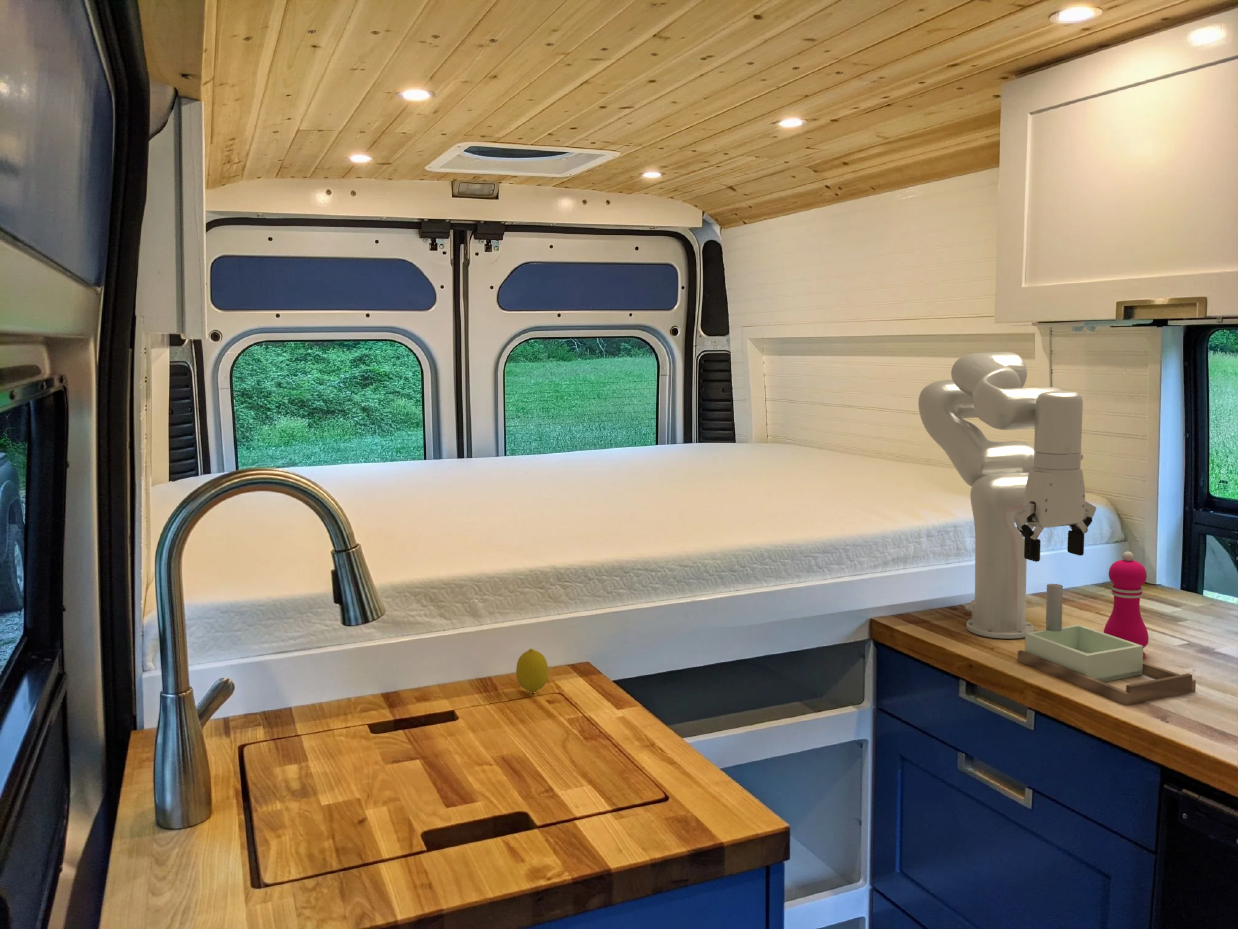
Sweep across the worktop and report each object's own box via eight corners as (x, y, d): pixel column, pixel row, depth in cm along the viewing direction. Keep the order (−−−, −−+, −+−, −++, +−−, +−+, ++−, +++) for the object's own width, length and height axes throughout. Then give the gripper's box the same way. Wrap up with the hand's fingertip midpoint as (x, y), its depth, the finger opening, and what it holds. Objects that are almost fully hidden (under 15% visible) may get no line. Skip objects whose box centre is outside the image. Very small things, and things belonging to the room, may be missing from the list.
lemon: (548, 698, 165) (546, 653, 164) (515, 700, 165) (513, 654, 164) (550, 687, 171) (548, 643, 170) (518, 688, 171) (516, 644, 170)
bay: (1017, 667, 172) (1018, 645, 172) (1081, 656, 177) (1081, 634, 177) (1125, 712, 150) (1126, 687, 150) (1195, 698, 155) (1196, 674, 155)
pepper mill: (1156, 666, 170) (1159, 555, 168) (1114, 668, 170) (1117, 556, 168) (1135, 653, 177) (1138, 546, 175) (1095, 655, 177) (1097, 547, 175)
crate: (1021, 658, 173) (1022, 587, 171) (1074, 649, 177) (1075, 580, 175) (1086, 685, 159) (1088, 608, 158) (1142, 674, 163) (1144, 599, 161)
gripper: (1079, 455, 176) (1075, 547, 178) (1001, 463, 170) (999, 557, 173) (1112, 460, 169) (1108, 556, 171) (1033, 468, 163) (1030, 567, 166)
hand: (1053, 556), depth 172 cm, fingers open, 9 cm apart
